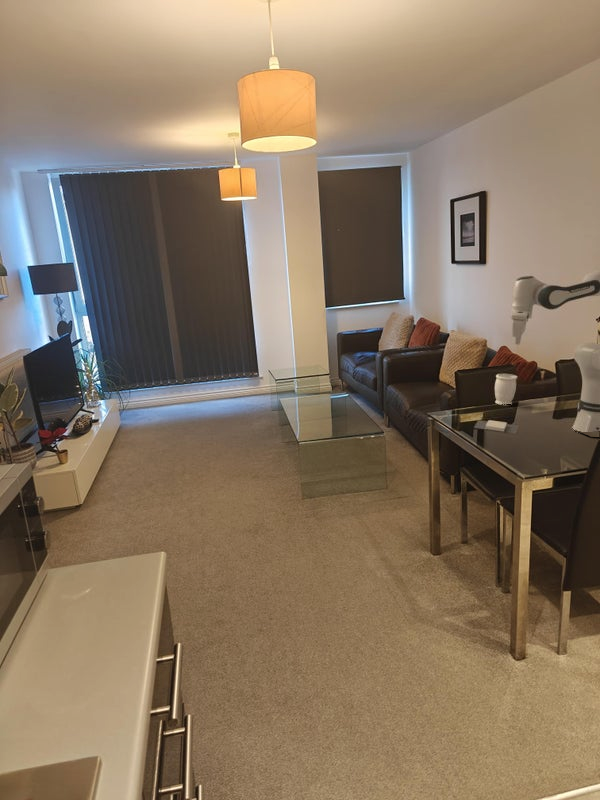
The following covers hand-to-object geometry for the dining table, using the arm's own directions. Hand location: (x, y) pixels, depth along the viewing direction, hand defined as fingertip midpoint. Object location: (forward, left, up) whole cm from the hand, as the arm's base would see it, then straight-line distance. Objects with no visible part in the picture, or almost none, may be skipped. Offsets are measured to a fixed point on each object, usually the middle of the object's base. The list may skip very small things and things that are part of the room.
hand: (517, 344), depth 241 cm
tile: (+4, +9, -36) cm, 37 cm away
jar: (+6, -30, -37) cm, 48 cm away
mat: (+4, +12, -37) cm, 39 cm away
